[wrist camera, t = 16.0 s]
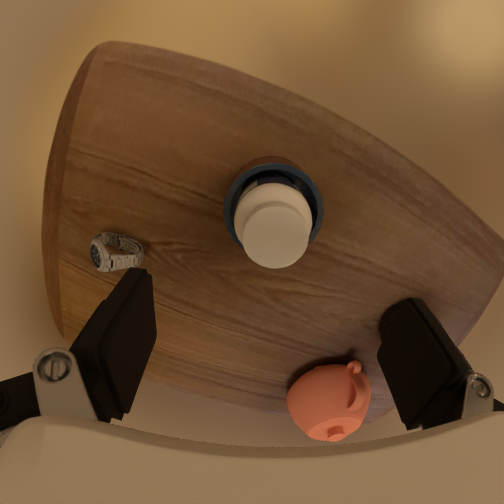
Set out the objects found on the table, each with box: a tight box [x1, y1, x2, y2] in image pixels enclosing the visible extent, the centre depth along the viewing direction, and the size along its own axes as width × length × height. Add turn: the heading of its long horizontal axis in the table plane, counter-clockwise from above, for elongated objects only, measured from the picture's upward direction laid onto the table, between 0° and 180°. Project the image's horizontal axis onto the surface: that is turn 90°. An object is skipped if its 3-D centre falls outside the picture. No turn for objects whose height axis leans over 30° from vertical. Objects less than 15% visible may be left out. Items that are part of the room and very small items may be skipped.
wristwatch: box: [90, 232, 144, 272], centre depth 26 cm, size 4×6×5 cm, turn 74°
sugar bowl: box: [286, 360, 370, 442], centre depth 32 cm, size 12×14×10 cm
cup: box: [223, 156, 324, 250], centre depth 23 cm, size 8×8×6 cm
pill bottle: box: [234, 170, 312, 268], centre depth 21 cm, size 5×5×10 cm
